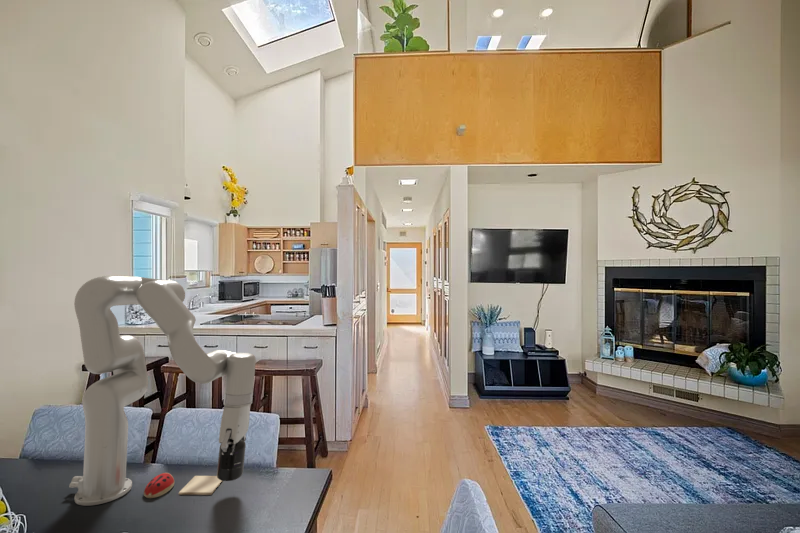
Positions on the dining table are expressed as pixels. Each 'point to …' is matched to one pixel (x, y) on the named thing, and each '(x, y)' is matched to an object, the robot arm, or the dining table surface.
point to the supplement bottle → (238, 462)
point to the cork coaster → (201, 485)
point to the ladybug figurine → (159, 485)
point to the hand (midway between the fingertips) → (233, 461)
